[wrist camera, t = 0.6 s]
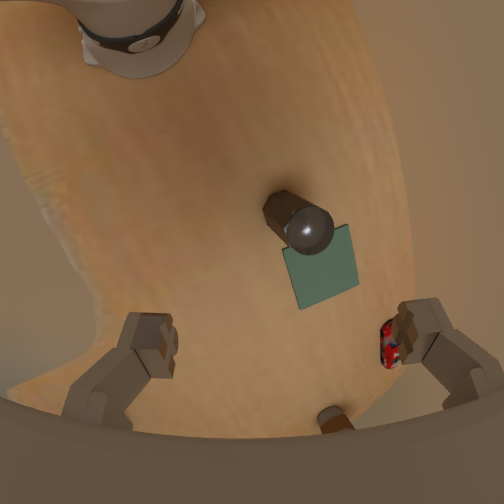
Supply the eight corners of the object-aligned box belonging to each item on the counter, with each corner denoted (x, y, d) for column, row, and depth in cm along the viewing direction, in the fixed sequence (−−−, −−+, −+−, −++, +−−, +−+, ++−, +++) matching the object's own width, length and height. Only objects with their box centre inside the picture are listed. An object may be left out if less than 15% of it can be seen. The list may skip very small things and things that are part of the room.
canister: (258, 199, 46) (281, 217, 35) (295, 186, 47) (328, 200, 36) (270, 234, 49) (295, 262, 38) (305, 221, 49) (338, 245, 38)
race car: (378, 322, 60) (388, 332, 57) (399, 313, 61) (409, 322, 57) (378, 366, 65) (386, 376, 62) (396, 357, 66) (405, 366, 62)
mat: (281, 249, 50) (282, 250, 50) (346, 223, 51) (348, 224, 50) (299, 308, 55) (300, 310, 54) (358, 283, 55) (359, 284, 55)
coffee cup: (348, 411, 69) (374, 453, 55) (321, 428, 69) (342, 472, 55) (336, 397, 66) (363, 443, 52) (307, 416, 66) (329, 463, 52)
